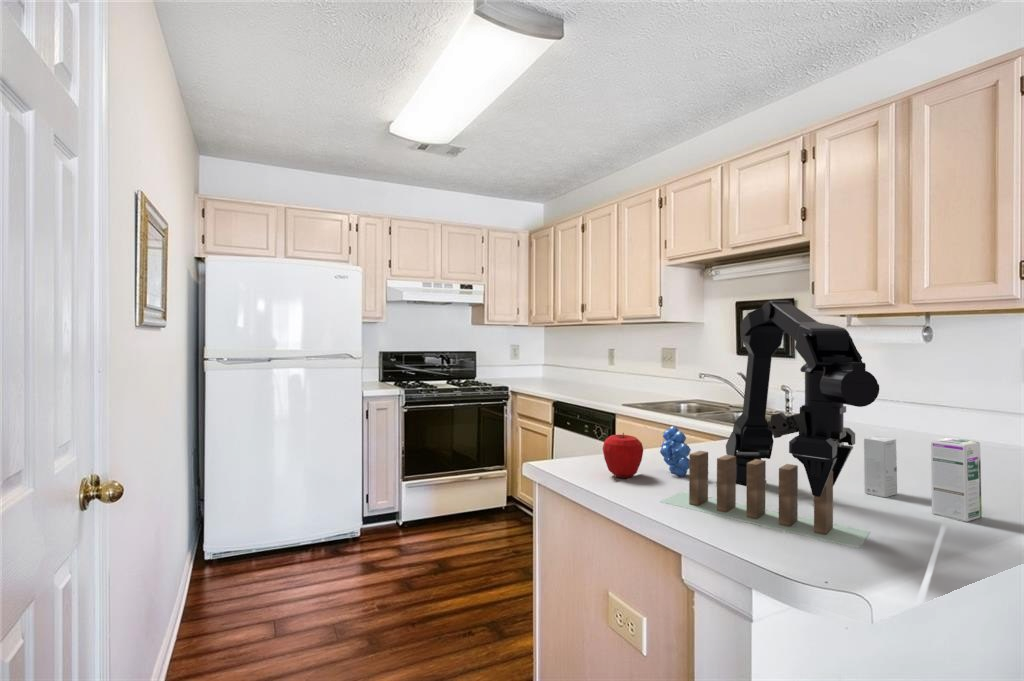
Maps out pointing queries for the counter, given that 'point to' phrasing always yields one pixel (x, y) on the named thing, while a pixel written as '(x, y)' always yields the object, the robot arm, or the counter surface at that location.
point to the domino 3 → (756, 488)
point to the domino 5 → (824, 509)
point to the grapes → (675, 451)
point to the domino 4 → (788, 495)
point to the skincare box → (880, 466)
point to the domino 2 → (726, 483)
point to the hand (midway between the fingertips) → (823, 490)
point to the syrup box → (956, 479)
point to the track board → (775, 521)
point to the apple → (623, 455)
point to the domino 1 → (698, 478)
